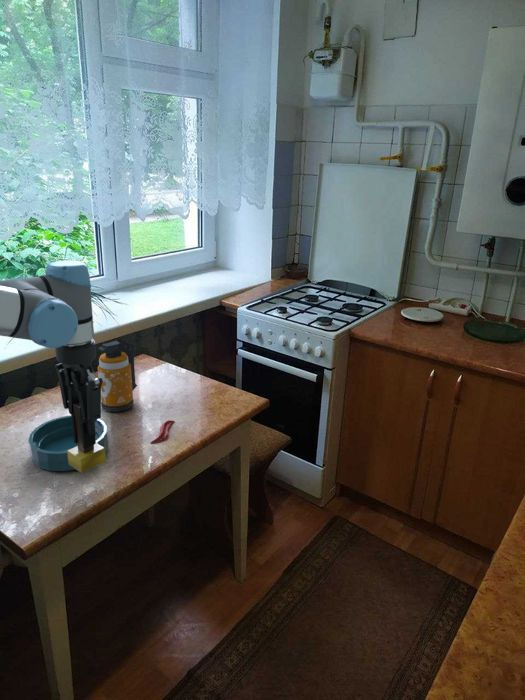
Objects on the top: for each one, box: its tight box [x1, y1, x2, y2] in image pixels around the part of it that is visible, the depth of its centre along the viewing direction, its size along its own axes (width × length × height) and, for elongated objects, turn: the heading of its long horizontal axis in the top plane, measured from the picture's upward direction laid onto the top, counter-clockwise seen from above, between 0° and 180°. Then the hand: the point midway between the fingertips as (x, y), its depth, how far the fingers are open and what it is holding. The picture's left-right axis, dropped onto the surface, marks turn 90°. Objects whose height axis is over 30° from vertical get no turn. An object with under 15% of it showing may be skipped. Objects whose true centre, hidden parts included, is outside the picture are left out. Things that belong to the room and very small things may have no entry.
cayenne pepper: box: [150, 419, 175, 444], centre depth 131 cm, size 12×5×2 cm, turn 154°
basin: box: [27, 415, 109, 472], centre depth 120 cm, size 18×18×6 cm
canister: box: [97, 338, 138, 413], centre depth 141 cm, size 9×11×20 cm
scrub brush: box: [67, 402, 107, 474], centre depth 105 cm, size 6×5×14 cm
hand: (85, 442), depth 106 cm, fingers closed on scrub brush, 2 cm apart
